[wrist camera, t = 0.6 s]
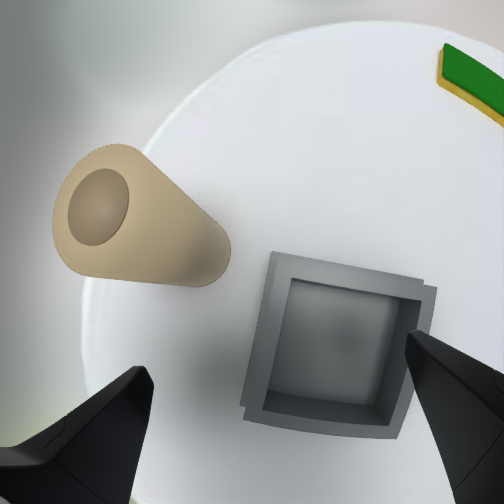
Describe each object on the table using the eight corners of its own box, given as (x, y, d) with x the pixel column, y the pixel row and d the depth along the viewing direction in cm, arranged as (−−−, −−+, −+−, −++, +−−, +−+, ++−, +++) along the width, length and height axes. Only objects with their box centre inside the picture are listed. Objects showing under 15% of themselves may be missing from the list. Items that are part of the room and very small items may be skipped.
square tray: (383, 421, 19) (402, 448, 14) (241, 400, 21) (228, 426, 16) (418, 280, 20) (448, 276, 15) (273, 253, 22) (267, 241, 17)
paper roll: (222, 293, 22) (134, 292, 10) (158, 278, 23) (39, 260, 10) (237, 223, 23) (172, 143, 10) (173, 213, 24) (73, 143, 11)
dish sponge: (525, 148, 20) (536, 140, 18) (435, 86, 23) (443, 73, 20) (522, 109, 21) (531, 100, 18) (439, 53, 23) (445, 41, 21)
